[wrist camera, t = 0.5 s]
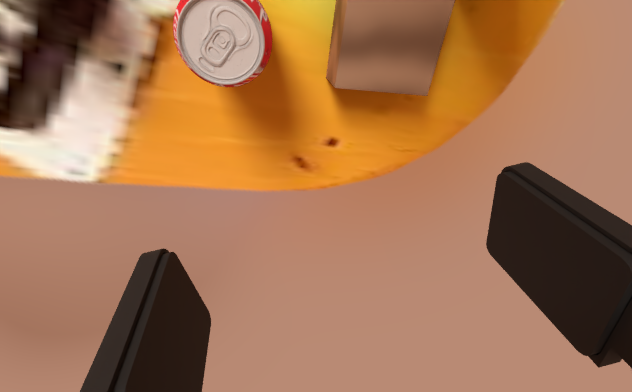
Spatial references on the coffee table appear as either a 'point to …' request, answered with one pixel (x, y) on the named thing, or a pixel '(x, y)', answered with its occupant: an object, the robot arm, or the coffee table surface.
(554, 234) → the robot arm
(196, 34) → the soda can
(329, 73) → the walnut block
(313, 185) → the coffee table surface
